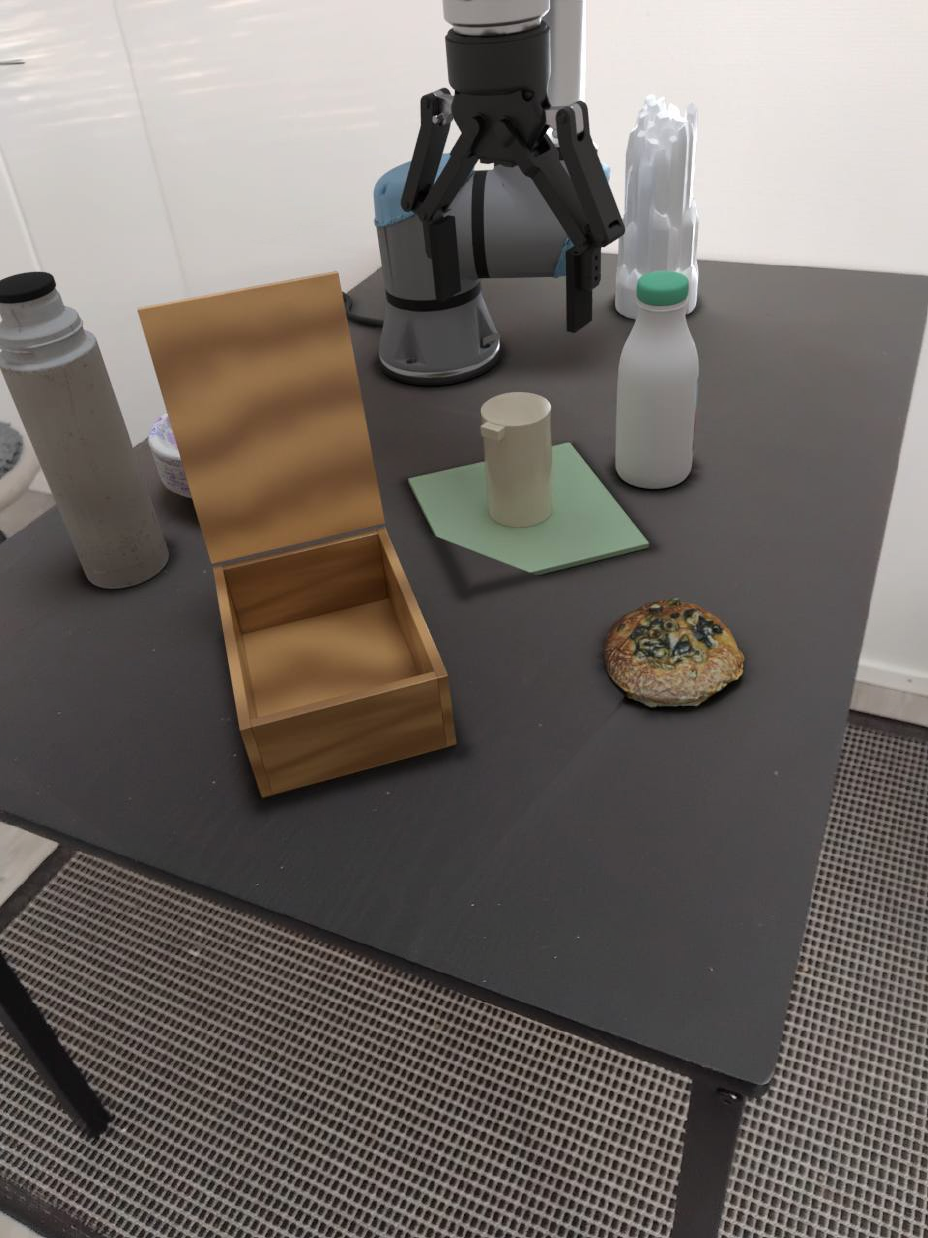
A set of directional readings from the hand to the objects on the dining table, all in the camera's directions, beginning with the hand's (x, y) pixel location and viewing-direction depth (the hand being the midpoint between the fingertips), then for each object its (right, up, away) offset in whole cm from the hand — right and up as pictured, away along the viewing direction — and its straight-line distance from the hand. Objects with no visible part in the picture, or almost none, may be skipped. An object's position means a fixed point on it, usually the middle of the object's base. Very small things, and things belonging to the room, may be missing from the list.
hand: (511, 310), depth 83 cm
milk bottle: (+15, -11, +17) cm, 26 cm away
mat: (+2, -16, +13) cm, 21 cm away
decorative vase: (+22, +16, +49) cm, 56 cm away
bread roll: (+13, -30, -5) cm, 33 cm away
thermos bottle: (-37, -21, +12) cm, 44 cm away
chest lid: (-19, -11, -8) cm, 23 cm away
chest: (-14, -32, -4) cm, 35 cm away
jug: (+2, -16, +13) cm, 20 cm away
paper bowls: (-28, -12, +21) cm, 37 cm away
